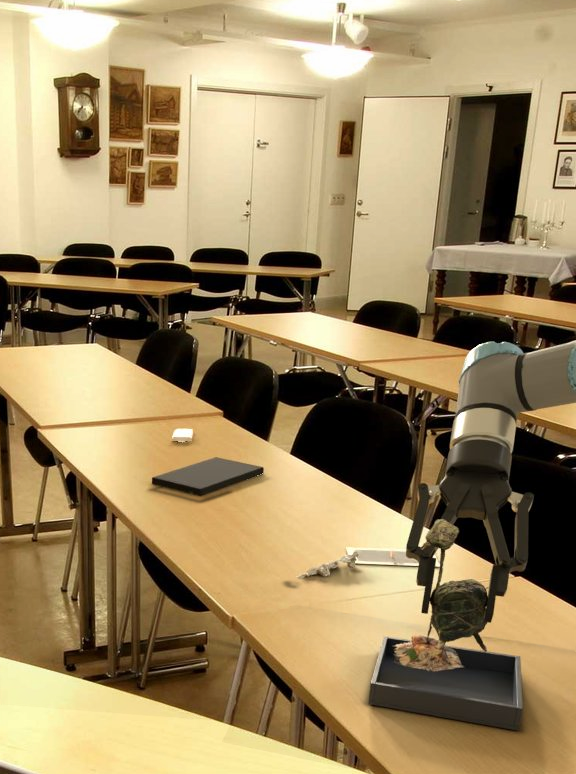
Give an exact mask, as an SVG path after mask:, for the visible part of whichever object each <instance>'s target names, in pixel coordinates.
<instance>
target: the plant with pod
mask: <svg viewBox="0 0 576 774" xmlns="http://www.w3.org/2000/svg"><path fill="white" fill-rule="evenodd" d="M440 519H441V518H440ZM440 519H436V520H435V521H434V524H433V525H432V527H431V528H430V529H429V530H428V531H427V533H426V535H425V542H423V544H422V546H420V547H421V548H420V549H421V550H423V549H425V548H426V546H431V547H438V549H440V557H439V564H440V567H438V568H439V569H438V576H437V581H436V585H435V588H434V589H432V591H431V597H430V603H429V605H430V607H431V616H430V619H429V620H430V622H429V625H428V630H427V636H424V635H419V634H415V635H412V636H411V639H410V640H412V642H411V641H410V642H408V643H405V642H404V644H402V643H401V644H396V645H395V646H393V647H397V648H395V649H393V650H396V651H394V652H395V653H396V654H394V655H395V657H396V659H394V660H395V661H394V662H395V663H398V664H400V665H403V666H406V667H410V668H418V669H424V670H425V669H427V670H428V671H429V670H430V669H431V670H432V672H436V671H441V670H446V669H455V667H456V668H459V667H463V666H462V664H461V662H460V661H459V658H458V656H457V655H458V654H457V653H456V651H454V649H451V647H446V646H445V645H446V644H447V643H450V642H454V641H456V640H460V639H463V638H470V637H472V636H473V637H474V639H475V641H476V643H477V644H478V645H479V648H480V649H482V651H485V652H486V651H487V652H488V649H487V645H486V644H485V643H484V641H483V639H482V637H481V635H480V633H482V631H484V630H485V629H486V625H488V622H484V620H485V612H486V606H487V600H488V590H489V586H488V587H485V585H484V584H482V583H481V582H479V581H478V580H476V579H473V578H469V579H461V580H449V581H447V582H443V583H442V584H441V582H442V578H443V571H444V562H445V559H446V558H445V557H446V551H448V550H449V549H450V548H452V546H453V545H455V540H456V539H457V537H458V535H459V533H460V529H459V528H458V526H455V525H454V524H450V523H449V522H447V521H446V520H443V519H441V520H440ZM432 628H434V630H435V632H436V634H437V635H438V639H436V638H434V637H430V634H431V631H432ZM397 649H398V650H397ZM464 667H465V666H464Z"/></svg>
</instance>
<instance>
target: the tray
mask: <svg viewBox="0 0 576 774" xmlns="http://www.w3.org/2000/svg"><path fill="white" fill-rule="evenodd" d="M410 641H411V642H412V639H406V638H399V637H393V636H386V635H384V636H382V640H381V643H380V644H381V645H380V648H379V651H378V654H377V659H376V663H375V667H374V670H373V673H372V677H371V681H370V686H369V694H368V702H367V704H368V705H372V706H377V707H383V708H389V709H395V710H400V711H406V712H410V713H417V714H422V715H427V716H434V717H438V718H445V719H450V720H456V721H462V722H467V723H472V724H478V725H483V726H484V725H485V726H490V727H496V728H499V729H500V728H501V729H507V730H513V731H517V732H519V730H520V725H521V720H522V715H523V711H524V708H523V707H524V706H523V703H524V702H523V685H522V684H523V683H522V682H523V681H522V662H521V661H522V659H521V655H514V654H507V653H500V652H494V651H488V650H487V651H486V652H485V651H484V650H481V649H474V648H467V647H459V646H454V645H447V644H445V646H446V647H451V649H454V651H456V653H457V654H458V655H457V656H458V658H459V661H460V662H461V664H462V666H463V667H459V668H456V667H455V669H446V670H441V671H436V672H432V670H431V669H430V670H429V671H428V670H427V669H425V670H424V669H418V668H410V667H406V666H403V665H400V664H398V663H395V662H394V661H395V660H394V659H396V657H395V655H394V654H396V653H395V652H394V651H396V650H393V649H395V648H397V647H393V646H395V645H396V644H401V643H402V644H404V642H405V643H408V642H410ZM397 650H398V649H397ZM464 666H465V667H464Z"/></svg>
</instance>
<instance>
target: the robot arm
mask: <svg viewBox="0 0 576 774" xmlns="http://www.w3.org/2000/svg"><path fill="white" fill-rule="evenodd" d="M571 404H576V339H575V340H572V341H570V342H566V343H562V344H558V345H554V346H550V347H545V348H542V349H539V350H534V351H531V352H524V351H523V350H522V348H520V347H519V346H518V345H516V344H514V343H511V342H507V341H502V342H500V343H499V342H498V343H497V342H495V341H487V342H484V343H481V344H478V345H477V346H476V347H474V348H472V349H471V350H470V351H469V352H468V354H467V355H466V357H465V359H464V362H463V366H462V370H461V374H460V375H459V380H458V394H457V401H456V408H455V414H454V419H453V423H452V430H451V435H450V442H449V452H448V455H447V460H446V466H445V473H444V477H443V479H442V480H441V481H440V482H439V484H435V485H434V484H433V485H428V484H427V483H425V482H420V483H419V484H418V485H417V493H416V498H417V507H416V511H415V513H414V517H413V520H412V523H411V528H410V532H409V535H408V538H407V542H406V547H405V550H406V557H408V558H410V559H412V558H413V559H415V560H417V561H418V562H419V566H417V572H416V580H415V581H416V585H417V586H418V587H424V591H423V599H422V602H421V603H422V604H421V614H423V615H425V614H426V615H428V614H429V610H430V609H429V608H430V597H431V594H432V591H433V583H434V579H435V578H434V577H435V571H436V567H435V565H436V558H437V557H436V558H433V556H434V555H435V556H436V553H437V552H438V549H439V548H438V547H431V546H426V548H425V549H423V550H421V549H420V548H421V547H422V546H420V543H421V538H422V534H423V531H424V527H425V524H426V520H427V518H428V517H427V516H428V513H429V507H430V505H431V504H432V503H434V502H435V501H436V497H437V496H440V497H441V499H442V500H443V502H444V503H445V505H446V508H445V510H444V512H443V514H442V515H441V517H440V520H441V519H443V520H446V521H447V522H449V523H450V524H453V525H454V524H455V522H456V521H457V519H458V518H459V519H460V518H461V519H466V518H472V519H475V520H482V521H483V526H484V527H485V529H486V533H487V536H488V537H487V538H488V540H489V543H490V548H491V551H492V554H493V559H494V561H495V564H492V568H491V571H490V577H489V583H488V587H489V588H488V589H487V596H488V600H487V606H486V612H485V620H484V622H487V623H492V620H493V618H494V613H495V606H496V598H497V597H505V595H506V594H507V591H508V586H509V579H510V578H509V577H510V574H511V573H512V572H524V571H525V569H526V566H527V563H528V559H529V512H530V510H531V508H532V505H533V502H534V499H535V495H534V494H533V492H529V491H528V492H524V494H522V493H519V492H515V491H513V489H512V487H511V485H510V475H511V467H512V459H513V456H512V455H513V454H512V453H513V451H514V446H515V445H514V444H515V436H516V430H517V422H518V417H519V414H521V413H527V412H533V411H537V410H542V409H548V408H554V407H559V406H566V405H571ZM508 502H509V503H510V504H511V509H512V511H513V512H514V513H516V514H515V517H514V553H513V554H514V555H513V556H512V557H511V556H510V553H509V549H508V546H507V542H506V539H505V535H504V532H503V528H502V525H501V521H500V518H499V510H500V509H501V508H502V507H503V506H504V505H506V503H508Z"/></svg>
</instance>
